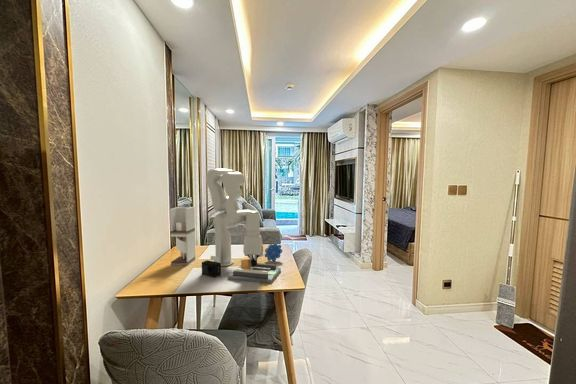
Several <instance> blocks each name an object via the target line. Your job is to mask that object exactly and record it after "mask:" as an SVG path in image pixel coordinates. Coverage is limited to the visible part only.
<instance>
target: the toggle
mask: <svg viewBox="0 0 576 384" xmlns="http://www.w3.org/2000/svg"><path fill="white" fill-rule="evenodd" d="M240 263H241V264H240V266H241V269H249V270H253V268H252V265H251V260H250V258H249V257H248V256H244V257H243V258H241V259H240Z"/></svg>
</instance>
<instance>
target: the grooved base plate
mask: <svg viewBox="0 0 576 384" xmlns="http://www.w3.org/2000/svg"><path fill="white" fill-rule="evenodd" d="M256 267H260V268H271V269H276V268H277V264H274V263H273V264H272V263H261V262H260V263H259V262H257V265H256ZM236 269H237V270H236ZM236 269H234V270H232V272H233V275H238V276H248V277H258V278H268V271H260V270H249V269H238V267H236Z"/></svg>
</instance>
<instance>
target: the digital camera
mask: <svg viewBox="0 0 576 384" xmlns="http://www.w3.org/2000/svg"><path fill="white" fill-rule="evenodd" d="M221 271H222V266H221V263H218V262H214V260H204V261H201V275H204V276H207V277H211V278H218V277H220V276H222V272H221Z"/></svg>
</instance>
